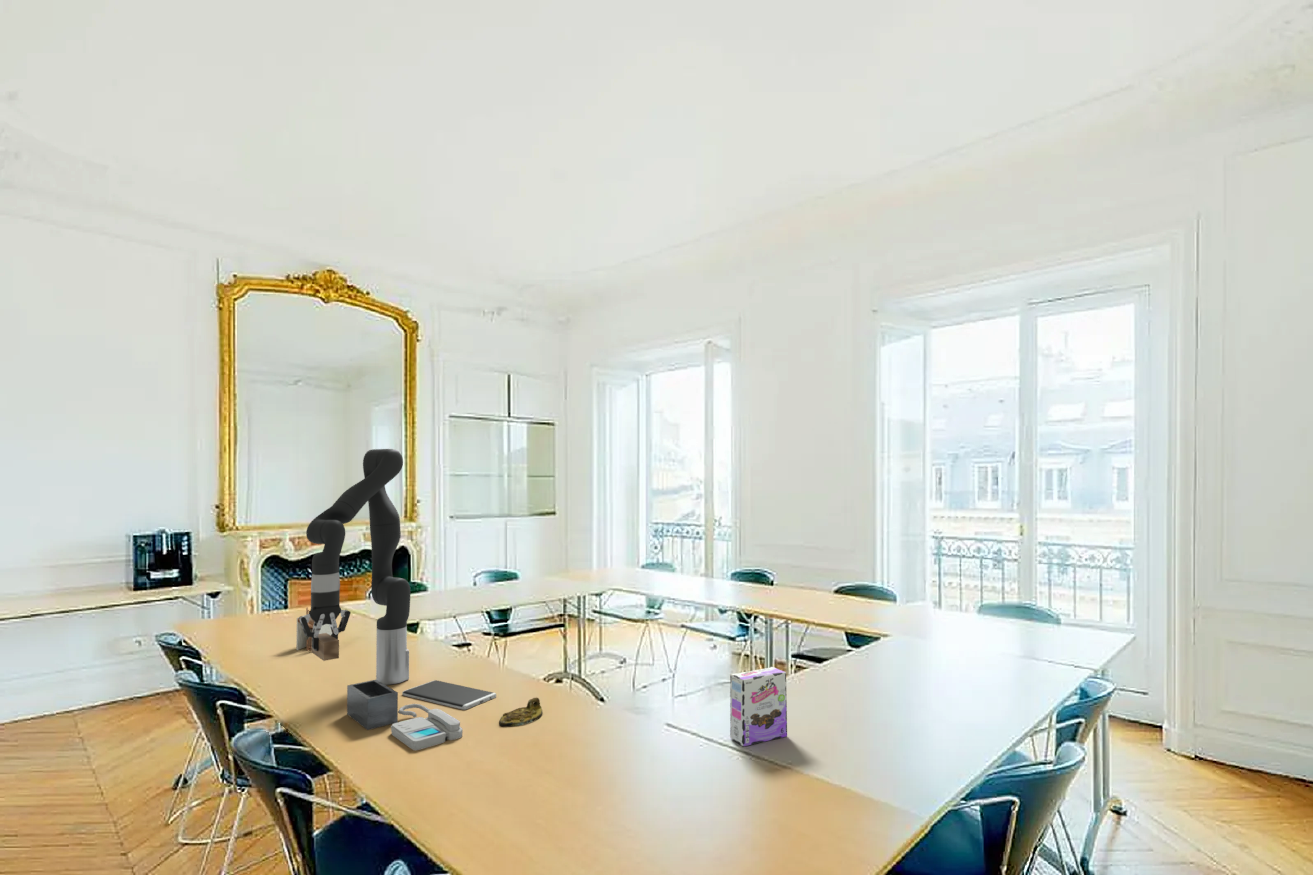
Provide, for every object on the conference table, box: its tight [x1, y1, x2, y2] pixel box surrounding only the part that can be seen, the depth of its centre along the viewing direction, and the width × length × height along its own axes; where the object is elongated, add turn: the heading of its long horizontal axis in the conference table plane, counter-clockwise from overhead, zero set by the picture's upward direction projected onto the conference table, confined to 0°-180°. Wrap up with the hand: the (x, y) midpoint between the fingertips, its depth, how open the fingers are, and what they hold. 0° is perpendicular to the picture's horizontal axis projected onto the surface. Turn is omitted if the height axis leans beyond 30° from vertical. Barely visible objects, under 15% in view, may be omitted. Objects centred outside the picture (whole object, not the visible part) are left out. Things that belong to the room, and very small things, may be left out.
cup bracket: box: [346, 679, 399, 731], centre depth 193 cm, size 8×16×8 cm, turn 42°
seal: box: [498, 697, 544, 727], centre depth 192 cm, size 9×5×15 cm
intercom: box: [390, 703, 464, 751], centre depth 184 cm, size 13×4×25 cm
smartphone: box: [402, 679, 497, 711], centre depth 211 cm, size 13×27×2 cm, turn 59°
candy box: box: [729, 666, 788, 747], centre depth 177 cm, size 14×6×16 cm, turn 117°
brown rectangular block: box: [311, 633, 340, 662], centre depth 201 cm, size 4×12×5 cm, turn 41°
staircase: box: [295, 607, 332, 651], centre depth 270 cm, size 9×11×17 cm
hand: (324, 648), depth 201 cm, fingers closed on brown rectangular block, 4 cm apart
